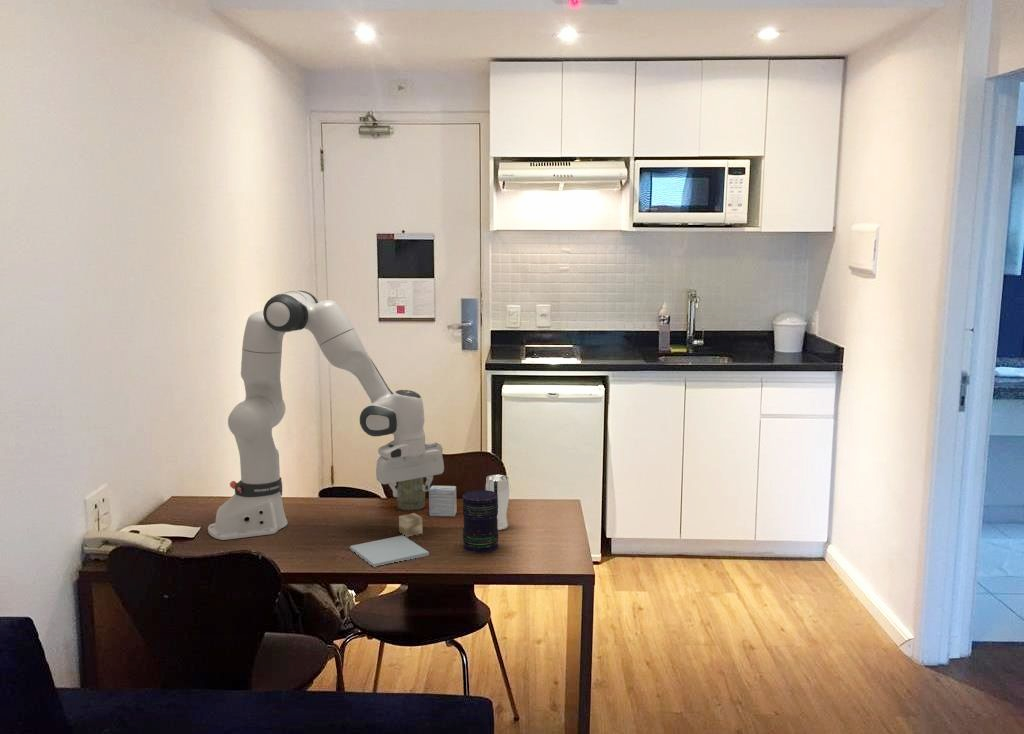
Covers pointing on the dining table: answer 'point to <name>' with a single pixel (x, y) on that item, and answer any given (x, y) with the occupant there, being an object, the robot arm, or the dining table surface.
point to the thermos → (411, 494)
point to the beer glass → (500, 497)
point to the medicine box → (442, 501)
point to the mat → (389, 550)
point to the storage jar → (480, 521)
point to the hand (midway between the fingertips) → (411, 493)
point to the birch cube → (410, 524)
